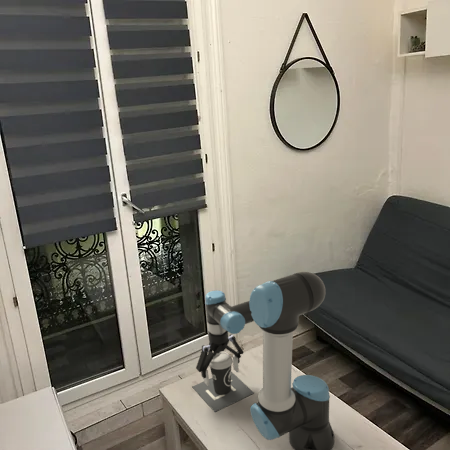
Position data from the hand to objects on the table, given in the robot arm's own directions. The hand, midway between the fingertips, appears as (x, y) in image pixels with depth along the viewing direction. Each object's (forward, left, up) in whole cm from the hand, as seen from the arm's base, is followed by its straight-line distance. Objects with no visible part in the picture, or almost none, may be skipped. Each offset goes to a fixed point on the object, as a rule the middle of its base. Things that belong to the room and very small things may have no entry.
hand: (221, 377), depth 187 cm
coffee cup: (0, 0, -6) cm, 6 cm away
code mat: (0, 0, -6) cm, 6 cm away
